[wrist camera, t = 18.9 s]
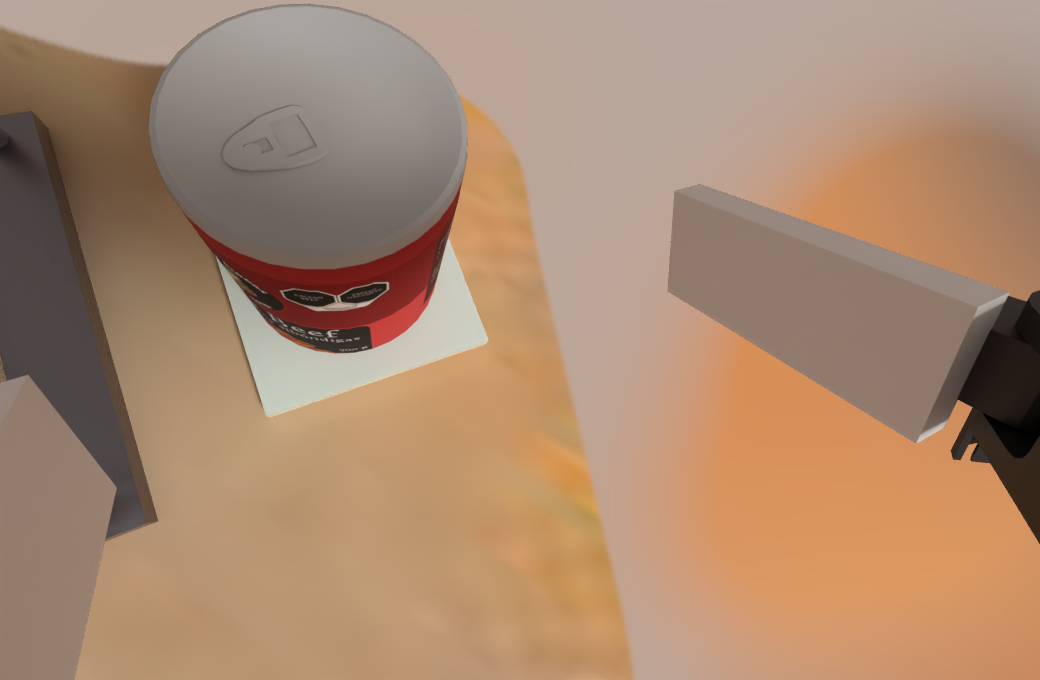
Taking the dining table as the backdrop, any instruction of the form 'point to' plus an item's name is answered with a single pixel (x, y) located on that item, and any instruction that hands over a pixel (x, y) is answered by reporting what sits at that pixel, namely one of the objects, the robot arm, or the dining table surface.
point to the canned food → (315, 167)
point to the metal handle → (61, 316)
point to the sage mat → (319, 375)
